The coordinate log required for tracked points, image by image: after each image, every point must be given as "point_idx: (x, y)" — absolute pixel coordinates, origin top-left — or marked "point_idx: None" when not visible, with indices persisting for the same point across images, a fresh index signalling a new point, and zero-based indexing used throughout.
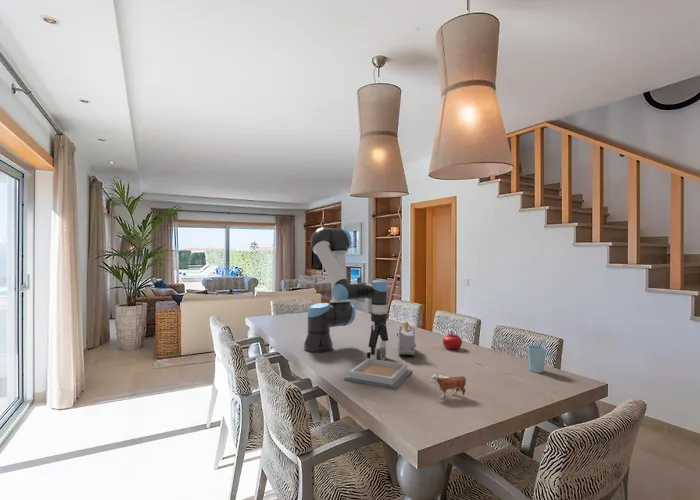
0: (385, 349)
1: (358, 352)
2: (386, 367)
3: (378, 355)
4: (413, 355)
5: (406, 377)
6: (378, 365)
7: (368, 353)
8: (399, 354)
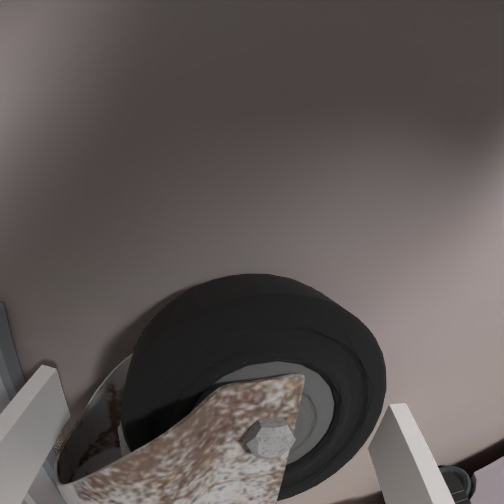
0: (383, 491)
1: (484, 77)
2: None
3: (65, 473)
4: None
5: None
6: None
7: (140, 354)
8: None
